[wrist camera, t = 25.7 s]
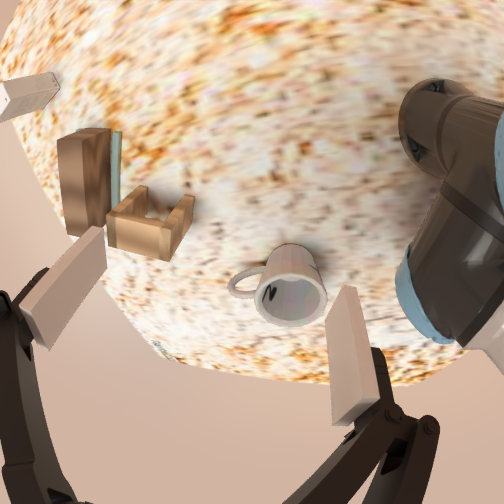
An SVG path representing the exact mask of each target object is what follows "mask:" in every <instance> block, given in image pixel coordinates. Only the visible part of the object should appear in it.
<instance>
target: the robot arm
mask: <svg viewBox="0 0 504 504" xmlns="http://www.w3.org/2000/svg"><path fill="white" fill-rule="evenodd" d="M399 134H400V138H401V142H402V145H403V147H404V149H405V151H406V153H407V154H408V156H409V157H410V159H411V160H412V161H413V162H414V163H415V164H416V165H417V166H418V167H420V168H421V169H422V170H424V171H425V172H427V173H428V174H430V175H432V176H435V177H438V178H442V179H445V180H444V182H443V184H442V187H441V189H440V190H439V192H438V194H437V196H436V198H435V200H434V202H433V204H432V206H431V208H430V210H429V212H428V214H427V216H426V218H425V220H424V222H423V224H422V225H421V227H420V229H419V231H418V233H417V234H416V236H415V238H414V239H413V241H412V242H411V243H410V244H409V246H408V247H407V249H406V253H405V256H404V258H403V260H402V262H401V264H400V266H399V267H398V269H397V272H396V276H395V285H396V294H397V298H398V301H399V303H400V305H401V307H402V309H403V311H404V313H405V315H406V316H407V318H408V319H409V320H410V322H411V323H412V324H413V326H414V327H415V328H416V329H417V330H418V331H419V332H420V333H421V334H422V335H424V336H425V337H426V338H432V340H433V342H436V343H439V344H447V343H450V342H453V341H455V340H456V341H457V342H458V343H459V344H460V345H461V347H462V348H463V349H464V350H474V349H480V350H483V351H484V352H485V353H486V354H487V355H488V357H489V358H490V359H491V360H492V362H493V363H494V364H495V365H496V366H497V368H498V369H499V370H500V371H501V373H502V374H503V375H504V103H502V102H498V101H494V100H490V99H486V98H481V97H476V96H475V95H474V94H473V93H471V92H470V91H469V90H468V89H466V88H465V87H464V86H462V85H461V84H459V83H457V82H454V81H451V80H447V79H438V78H433V79H427V80H424V81H421V82H420V83H418V84H416V85H415V86H414V87H413V88H412V89H411V90H410V91H409V92H408V93H407V95H406V96H405V98H404V100H403V102H402V105H401V108H400V113H399ZM106 269H107V261H106V252H105V241H104V229H103V228H100V227H96V226H91V227H90V228H89V229H88V230H87V231H86V232H85V233H84V234H83V235H82V236H81V237H80V238H79V239H78V240H77V241H76V242H75V243H74V244H73V245H72V246H71V247H70V248H69V249H68V250H67V251H66V252H65V254H63V255H62V257H61V258H60V259H59V260H58V261H57V262H56V263H55V264H54V265H53V266H52V267H51V268H47V267H46V268H44V269H42V270H41V271H39V272H38V273H37V274H36V275H35V276H34V277H33V278H32V280H30V281H29V283H28V284H27V285H26V286H25V287H24V288H23V289H22V291H21V292H20V293H19V294H18V295H17V296H16V298H15V299H14V300H13V301H12V302H11V300H10V298H9V295H8V294H7V292H5V291H3V290H0V440H1V445H2V449H3V454H4V458H5V465H4V466H3V467H2V476H3V480H4V483H5V486H6V489H7V493H8V496H9V498H10V501H11V504H93V503H89V502H86V501H85V503H84V502H78V501H77V498H76V496H75V494H74V492H73V490H72V487H71V486H70V484H69V483H68V481H67V480H66V479H65V477H64V475H63V473H62V471H61V468H60V465H59V463H58V460H57V457H56V454H55V451H54V447H53V444H52V441H51V438H50V434H49V431H48V427H47V423H46V419H45V415H44V411H43V407H42V402H41V398H40V392H39V388H38V382H37V376H36V370H35V363H34V355H33V347H32V344H31V342H32V340H33V339H35V341H36V343H37V345H38V346H40V347H42V348H44V349H46V350H48V351H50V350H51V348H52V346H53V345H54V343H55V342H56V340H57V338H58V337H59V335H60V334H61V332H62V331H63V329H64V328H65V326H66V325H67V323H68V322H69V320H70V319H71V317H72V316H73V314H74V313H75V312H76V310H77V309H78V307H79V306H80V304H81V303H82V302H83V300H84V299H85V297H86V296H87V294H88V293H89V292H90V290H91V289H92V288H93V286H94V285H95V284H96V282H97V281H98V280H99V278H100V277H101V276H102V274H103V273H104V272H105V270H106ZM325 327H326V338H327V349H328V361H329V374H330V388H331V403H332V404H331V405H332V426H349V425H350V424H351V423H352V422H354V426H355V428H354V429H353V430H352V431H351V432H349V433H348V434H347V435H345V436H344V437H345V439H344V441H343V442H342V443H341V444H340V446H339V447H338V448H337V449H336V450H335V451H334V452H333V453H332V454H331V456H330V457H329V458H328V459H327V460H326V461H325V462H324V463H323V464H322V465H321V466H320V467H319V469H318V470H317V471H316V472H315V473H314V474H313V475H312V476H311V477H310V478H309V479H308V480H307V481H306V482H305V483H304V484H303V485H302V486H301V487H300V488H299V489H297V490H296V491H295V492H294V493H293V494H292V495H291V496H290V497H289V498H288V499H287V500H286V501H284V502H283V503H282V504H347V503H348V502H349V501H350V499H351V498H352V497H353V496H354V495H355V493H356V492H357V491H358V490H359V488H360V487H361V486H362V484H363V483H364V482H365V481H366V479H367V478H368V477H369V475H370V473H371V472H372V471H373V470H374V468H375V467H376V465H377V464H378V463H379V461H380V463H379V465H378V468H377V470H376V473H375V475H374V478H373V480H372V482H371V485H370V487H369V489H368V492H367V494H366V496H365V498H364V500H363V502H362V504H422V501H423V498H424V495H425V492H426V488H427V485H428V481H429V478H430V474H431V470H432V467H433V462H434V458H435V454H436V449H437V445H438V439H439V434H440V426H439V423H438V421H437V420H436V418H434V417H433V416H430V415H425V416H423V417H422V418H420V419H416V418H413V417H410V416H407V415H405V414H404V412H403V410H402V408H401V407H399V405H397V404H395V402H394V398H393V392H392V387H391V383H390V378H389V375H388V374H389V373H388V368H387V364H386V360H385V356H384V355H383V353H382V351H381V350H380V348H375V347H370V343H369V338H368V334H367V329H366V325H365V321H364V317H363V312H362V308H361V304H360V300H359V296H358V292H357V289H356V287H351V286H347V285H343V286H342V288H341V290H340V292H339V294H338V296H337V298H336V300H335V302H334V304H333V306H332V308H331V310H330V311H329V313H328V315H327V317H326V319H325Z"/></svg>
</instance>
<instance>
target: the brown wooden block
mask: <svg viewBox="0 0 504 504" xmlns="http://www.w3.org/2000/svg"><path fill="white" fill-rule="evenodd" d="M110 142H111V129H105V128H85V129H83V130H80V131H77V132H75V133H72V134H70V135H67V136H65V137H63V138H60V139H58V140H57V152H58V167H59V178H60V188H61V196H62V204H63V211H64V218H65V224H66V230H67V234H68V235H73V236H77V237H81V236H82V235H83V234H84V233H85V232H86V231H87V230H88V229H89V228H90V227H91V226H96V227H100V228H102V227H103V226H104V225H105V224H106V215H107V214H108V213H109V212H110V211H111V210H112V203H111V164H110Z"/></svg>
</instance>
